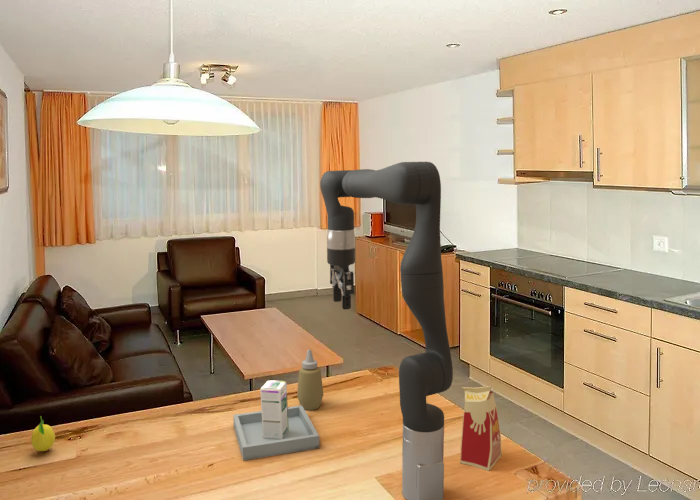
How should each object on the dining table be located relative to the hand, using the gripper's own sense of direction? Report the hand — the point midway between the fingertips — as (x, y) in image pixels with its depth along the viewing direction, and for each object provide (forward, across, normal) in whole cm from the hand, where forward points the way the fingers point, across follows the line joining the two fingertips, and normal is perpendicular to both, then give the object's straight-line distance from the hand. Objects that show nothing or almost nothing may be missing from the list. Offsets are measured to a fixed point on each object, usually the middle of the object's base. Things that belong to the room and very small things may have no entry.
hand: (341, 305), depth 163 cm
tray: (+36, +2, +19) cm, 41 cm away
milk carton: (+36, -26, -28) cm, 53 cm away
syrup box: (+36, +2, +19) cm, 40 cm away
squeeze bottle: (+36, +18, +5) cm, 41 cm away
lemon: (+36, +13, +78) cm, 87 cm away
